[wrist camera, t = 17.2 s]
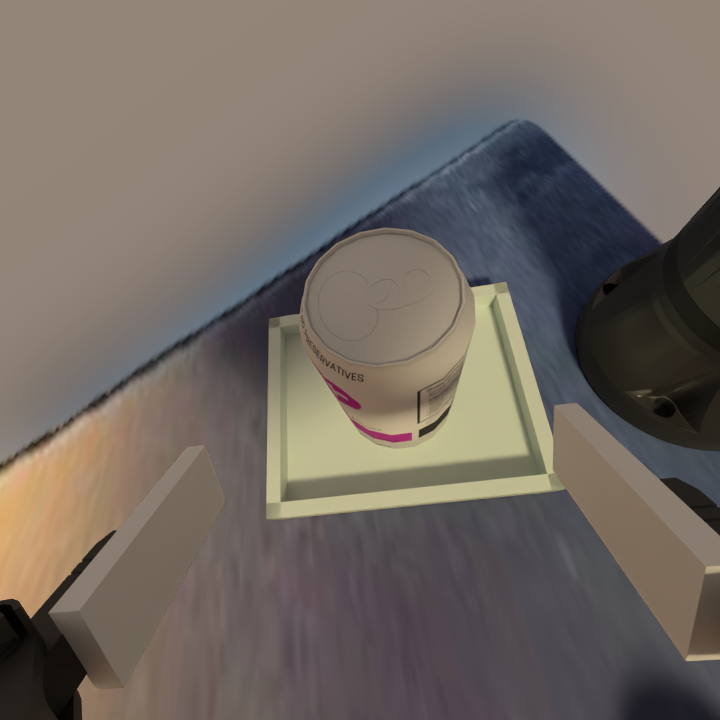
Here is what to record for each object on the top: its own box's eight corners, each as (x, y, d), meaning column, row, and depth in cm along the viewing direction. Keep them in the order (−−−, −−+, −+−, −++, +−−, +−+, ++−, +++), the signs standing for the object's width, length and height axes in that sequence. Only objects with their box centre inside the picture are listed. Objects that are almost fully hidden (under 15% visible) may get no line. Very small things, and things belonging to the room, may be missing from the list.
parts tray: (499, 298, 33) (505, 282, 31) (555, 491, 26) (568, 488, 24) (278, 331, 35) (268, 318, 32) (278, 519, 28) (266, 519, 26)
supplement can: (363, 464, 28) (311, 408, 14) (336, 368, 31) (274, 249, 18) (467, 432, 28) (515, 344, 14) (429, 338, 31) (437, 196, 18)
